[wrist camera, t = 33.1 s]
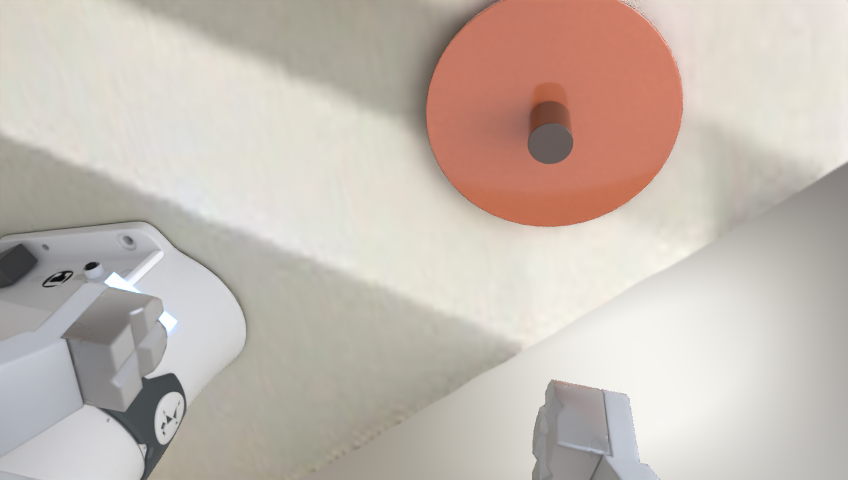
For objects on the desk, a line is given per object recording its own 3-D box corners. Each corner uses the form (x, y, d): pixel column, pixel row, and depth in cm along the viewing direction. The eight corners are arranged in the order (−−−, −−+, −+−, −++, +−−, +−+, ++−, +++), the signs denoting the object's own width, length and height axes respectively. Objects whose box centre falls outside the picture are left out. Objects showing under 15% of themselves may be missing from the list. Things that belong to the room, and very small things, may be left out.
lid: (652, 225, 42) (663, 265, 39) (428, 210, 45) (418, 246, 41) (707, -14, 34) (729, 6, 30) (427, -20, 36) (414, -2, 32)
